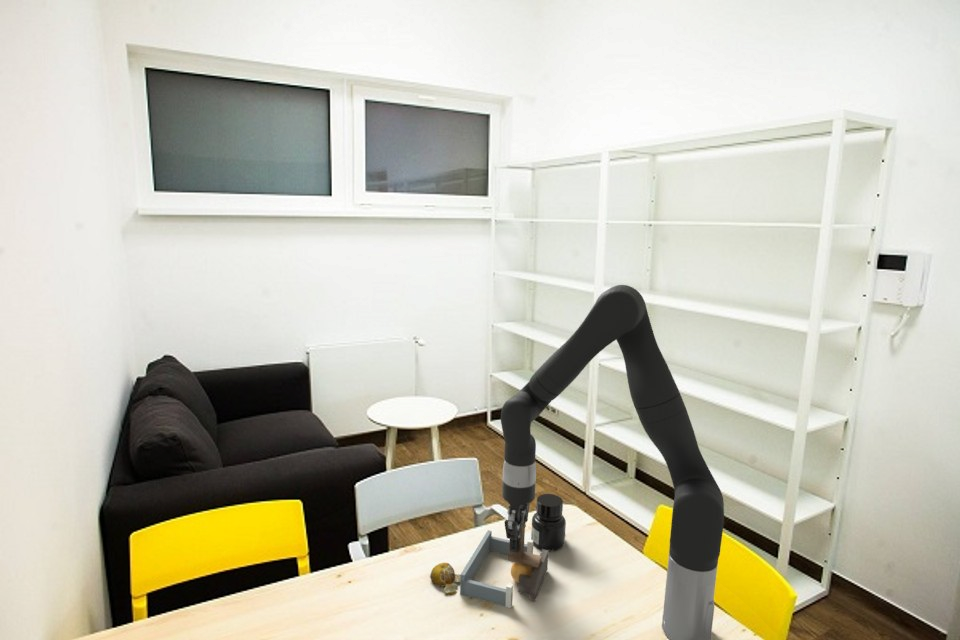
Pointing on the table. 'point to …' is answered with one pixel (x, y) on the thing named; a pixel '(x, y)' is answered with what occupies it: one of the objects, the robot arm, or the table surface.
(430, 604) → the table surface
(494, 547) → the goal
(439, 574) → the fruit
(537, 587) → the kicker
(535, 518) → the ink bottle
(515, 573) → the ball
